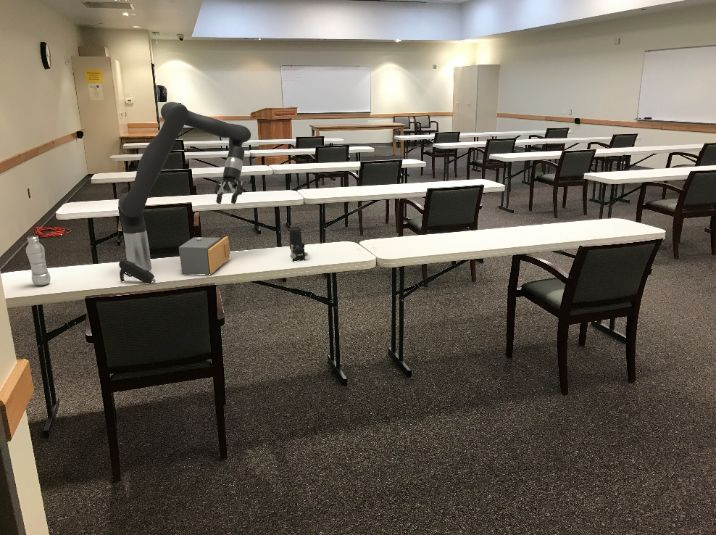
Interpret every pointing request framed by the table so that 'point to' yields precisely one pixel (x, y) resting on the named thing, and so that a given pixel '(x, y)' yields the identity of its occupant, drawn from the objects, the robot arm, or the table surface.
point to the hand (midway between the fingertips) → (225, 203)
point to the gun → (135, 271)
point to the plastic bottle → (37, 261)
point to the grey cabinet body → (196, 255)
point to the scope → (296, 244)
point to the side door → (218, 254)
